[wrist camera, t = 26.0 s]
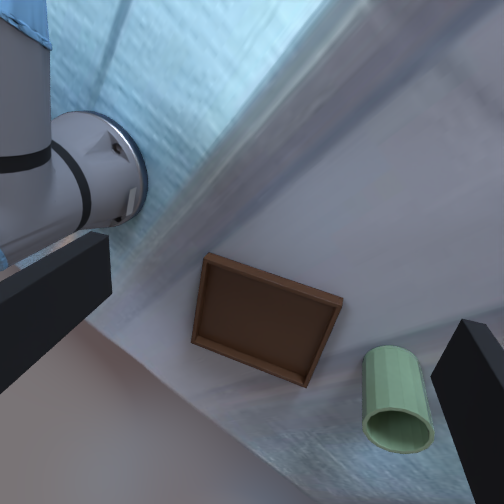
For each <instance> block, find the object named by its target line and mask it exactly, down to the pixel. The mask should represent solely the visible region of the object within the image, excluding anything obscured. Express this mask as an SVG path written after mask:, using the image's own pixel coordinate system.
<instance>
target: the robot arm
mask: <svg viewBox="0 0 504 504" xmlns="http://www.w3.org/2000/svg"><path fill="white" fill-rule="evenodd" d="M50 51H52V44H51V43H50V41H49V32H48V21H47V6H46V0H0V271H3V270H5V269H6V268H8V267H9V266H11V265H13V264H15V263H17V262H19V261H21V260H23V259H25V258H27V257H28V256H30V255H32V254H34V253H36V252H38V251H40V250H42V249H44V248H46V247H47V246H49V245H51V244H53V243H55V242H57V241H59V240H61V239H63V238H64V237H66V236H68V235H70V234H72V233H74V232H76V231H78V230H84V229H95V228H107V227H114V226H118V225H120V224H123V223H124V222H126V221H128V220H130V219H131V218H133V217H134V216H136V215H137V214H138V213H139V211H140V210H141V208H142V207H143V205H144V203H145V200H146V197H147V191H148V176H147V170H146V166H145V163H144V160H143V157H142V155H141V153H140V151H139V149H138V147H137V145H136V144H135V142H134V141H133V139H132V138H131V136H130V135H129V134H128V133H127V132H126V131H125V130H124V129H123V128H122V127H121V126H120V125H119V124H118V123H116V122H115V121H114V120H112V119H111V118H109V117H107V116H105V115H103V114H100V113H97V112H93V111H75V112H67V113H64V114H62V115H60V116H58V117H56V118H55V119H53V120H52V121H51V103H50ZM111 294H112V282H111V266H110V250H109V235H104V234H100V233H96V232H92V231H90V232H89V233H87V234H85V235H83V236H82V237H80V238H78V239H76V240H74V241H73V242H71V243H69V244H67V245H65V246H64V247H62V248H60V249H58V250H56V251H55V252H53V253H51V254H49V255H47V256H46V257H44V258H42V259H40V260H39V261H37V262H35V263H33V264H31V265H30V266H28V267H26V268H24V269H22V270H21V271H19V272H17V273H15V274H13V275H12V276H10V277H8V278H6V279H4V280H3V281H1V282H0V394H1V393H2V392H3V391H4V390H6V389H7V388H8V387H9V386H10V385H11V384H12V383H13V382H15V381H16V380H17V379H18V378H19V377H20V376H21V375H22V374H23V373H25V372H26V371H27V370H28V369H29V368H30V367H31V366H32V365H33V364H35V363H36V362H37V361H38V360H39V359H40V358H41V357H42V356H43V355H45V354H46V352H48V351H49V350H50V349H51V348H52V347H54V346H55V345H56V344H57V343H58V342H59V341H60V340H61V339H62V338H63V337H65V336H66V335H67V334H68V333H69V332H70V331H71V330H72V329H74V328H75V327H76V326H77V325H78V324H79V323H80V322H81V321H82V320H84V319H85V318H86V317H87V316H88V315H89V314H90V313H91V312H92V311H94V310H95V309H96V308H97V307H98V306H99V305H100V304H101V303H102V302H104V301H105V300H106V299H107V298H108V297H109V296H110V295H111ZM430 377H431V380H432V383H433V386H434V388H435V391H436V394H437V397H438V399H439V402H440V405H441V408H442V411H443V413H444V416H445V419H446V422H447V425H448V427H449V430H450V433H451V436H452V439H453V441H454V444H455V447H456V450H457V453H458V455H459V458H460V461H461V464H462V467H463V469H464V472H465V475H466V478H467V481H468V483H469V486H470V489H471V492H472V495H473V497H474V500H475V503H476V504H504V350H503V349H502V347H501V346H500V344H499V343H498V341H497V340H496V338H495V337H494V335H493V334H492V333H491V331H490V330H489V328H488V327H487V325H486V324H482V323H478V322H474V321H470V320H465V319H461V321H460V323H459V325H458V327H457V329H456V330H455V332H454V334H453V336H452V338H451V340H450V341H449V343H448V345H447V347H446V349H445V350H444V352H443V354H442V356H441V358H440V360H439V361H438V363H437V365H436V367H435V369H434V371H433V372H432V374H431V376H430Z"/></svg>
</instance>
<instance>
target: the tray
mask: <svg viewBox="0 0 504 504" xmlns="http://www.w3.org/2000/svg"><path fill="white" fill-rule="evenodd" d="M342 304H343V298H341V297H338V296H335V295H332V294H329V293H326V292H324V291H321V290H318V289H315V288H312V287H309V286H306V285H303V284H300V283H297V282H294V281H291V280H288V279H285V278H282V277H280V276H277V275H274V274H271V273H268V272H265V271H262V270H259V269H256V268H253V267H250V266H247V265H244V264H241V263H238V262H236V261H233V260H230V259H227V258H224V257H221V256H218V255H215V254H212V253H208V254H207V255H206V256H205V257H204V258H203V265H202V272H201V278H200V285H199V292H198V298H197V305H196V312H195V318H194V325H193V332H192V338H191V343H192V344H195V345H197V346H200V347H203V348H205V349H208V350H210V351H213V352H215V353H218V354H220V355H223V356H225V357H228V358H231V359H233V360H236V361H238V362H241V363H243V364H246V365H248V366H251V367H253V368H256V369H259V370H261V371H264V372H266V373H269V374H271V375H274V376H276V377H279V378H281V379H284V380H287V381H289V382H292V383H294V384H297V385H299V386H302V387H304V388H307V386H308V384H309V381H310V379H311V377H312V374H313V372H314V370H315V367H316V365H317V363H318V361H319V358H320V356H321V354H322V351H323V349H324V347H325V345H326V342H327V340H328V338H329V335H330V333H331V331H332V329H333V326H334V324H335V322H336V319H337V317H338V315H339V313H340V310H341V308H342Z"/></svg>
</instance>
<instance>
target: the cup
mask: <svg viewBox="0 0 504 504" xmlns="http://www.w3.org/2000/svg"><path fill="white" fill-rule="evenodd" d="M362 428H363V432H364V434H365V435H366V437H367V438H368V440H369V441H371V442H372V443H373V444H375V445H376V446H377V447H379V448H382V449H384V450H387V451H389V452H394V453H400V454H411V453H418V452H421V451H423V450H425V449H427V448H428V447H429V446H430V445H431V444H432V443H433V441H434V434H435V431H434V427H433V422H432V417H431V412H430V408H429V403H428V398H427V393H426V389H425V384H424V379H423V375H422V370H421V367H420V363H419V361H418V359H417V358H416V357H415V356H414V355H413V354H412V353H411V352H409V351H408V350H406V349H403V348H401V347H397V346H379V347H376V348H374V349H372V350H370V351H369V352H368V353H367V354H366V355H365V356H364V358H363V362H362Z"/></svg>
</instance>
